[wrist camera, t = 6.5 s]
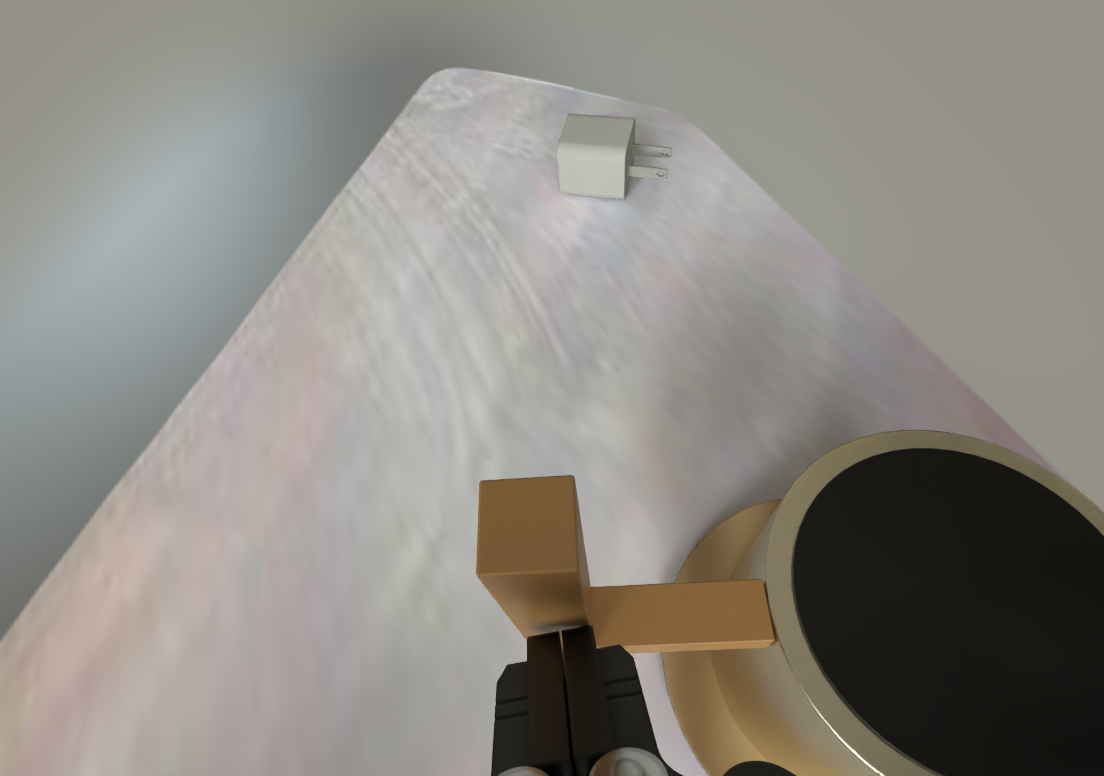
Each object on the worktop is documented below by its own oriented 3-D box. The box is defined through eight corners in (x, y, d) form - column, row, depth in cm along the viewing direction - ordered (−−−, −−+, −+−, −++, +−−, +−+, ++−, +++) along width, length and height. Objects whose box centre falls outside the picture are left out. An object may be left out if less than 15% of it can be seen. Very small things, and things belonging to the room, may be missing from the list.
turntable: (917, 480, 30) (924, 474, 29) (1089, 833, 22) (1105, 835, 22) (632, 528, 30) (632, 523, 29) (712, 896, 22) (715, 901, 22)
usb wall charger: (573, 159, 44) (570, 108, 40) (671, 167, 42) (676, 116, 39) (561, 198, 42) (556, 148, 38) (663, 208, 41) (667, 157, 37)
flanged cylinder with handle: (923, 532, 28) (1362, 215, 11) (1016, 798, 23) (2055, 912, 6) (558, 551, 29) (485, 285, 12) (567, 810, 24) (462, 934, 7)
